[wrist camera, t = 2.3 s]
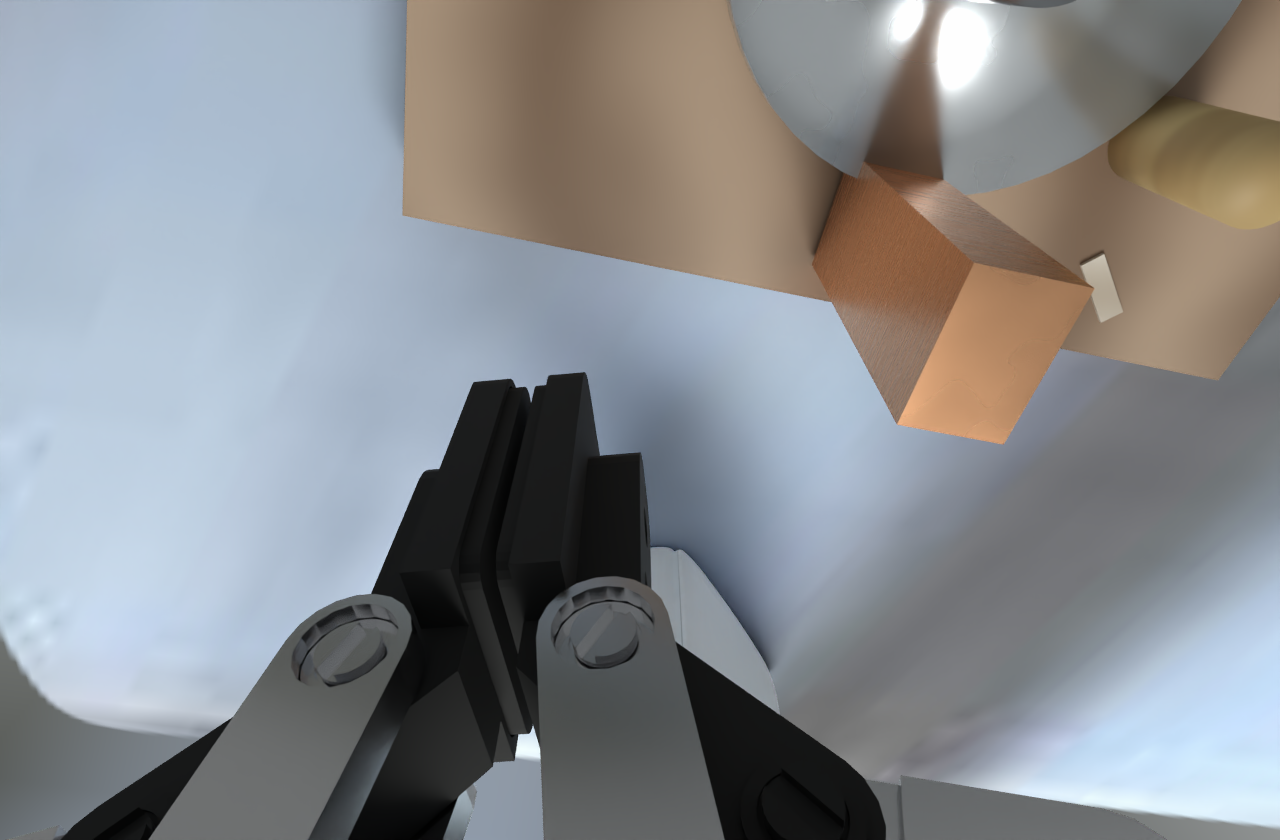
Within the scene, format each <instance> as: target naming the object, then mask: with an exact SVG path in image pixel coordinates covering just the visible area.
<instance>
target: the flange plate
mask: <svg viewBox="0 0 1280 840" xmlns="http://www.w3.org/2000/svg"><path fill="white" fill-rule="evenodd" d="M726 1H727V7H728V13H729V16H730V20H731V23H732V26H733V30H734V33H735V37H736V40H737V43H738V47H739V49H740V51H741V53H742V56H743V58H744V60H745V62H746V65H747V67H748V69H749V72H750V74H751V76H752V78H753V79H754V81H755V83H756V84H757V86H758V88H759V89H760V91H761V92H762V94H763V96H764V97H765V99H766V101H767V102H768V104H769V105H770V106H771V107H772V108H773V110H774V111H775V112H776V113H777V114H778V116H779V117H780V118H781V119H782V121H783V122H784V123H785V124H786V125H787V127H788V128H789V129H790V130H791V131H792V132H793V134H794V135H795V136H796V137H797V138H799V139H800V140H801V141H802V142H803V143H804V144H805V145H806V146H807V147H809V148H810V149H811V150H812V151H813V152H814V153H815V154H816V155H817V156H819V157H821V158H822V159H824V160H825V161H827V162H828V163H830V164H831V165H833V166H834V167H836V168H837V169H839V170H840V171H842V172H844V173H843V176H842V179H841V182H840V184H839V187H838V190H837V193H836V196H835V199H834V202H833V205H832V207H831V210H830V213H829V216H828V219H827V222H826V225H825V228H824V230H823V233H822V236H821V239H820V242H819V245H818V248H817V251H816V253H815V256H814V259H813V262H812V266H813V268H814V270H815V272H816V273H817V275H818V277H819V279H820V281H821V283H822V285H823V287H824V288H825V290H826V292H827V294H828V296H829V298H830V300H831V302H832V303H833V305H834V307H835V309H836V311H837V313H838V315H839V317H840V318H841V320H842V322H843V324H844V326H845V328H846V330H847V332H848V333H849V335H850V337H851V339H852V341H853V343H854V345H855V347H856V349H857V350H858V352H859V354H860V356H861V358H862V360H863V362H864V364H865V365H866V367H867V369H868V371H869V373H870V375H871V377H872V379H873V380H874V382H875V384H876V386H877V388H878V390H879V392H880V394H881V395H882V397H883V399H884V401H885V403H886V405H887V407H888V409H889V410H890V412H891V414H892V416H893V418H894V420H895V422H896V424H897V425H902V426H908V427H913V428H918V429H924V430H929V431H934V432H940V433H945V434H950V435H956V436H961V437H966V438H972V439H977V440H982V441H988V442H993V443H999V444H1004V443H1005V441H1006V440H1007V438H1008V436H1009V434H1010V433H1011V431H1012V429H1013V428H1014V426H1015V424H1016V422H1017V421H1018V419H1019V417H1020V416H1021V414H1022V412H1023V410H1024V409H1025V407H1026V405H1027V404H1028V402H1029V400H1030V398H1031V397H1032V395H1033V393H1034V392H1035V390H1036V388H1037V387H1038V385H1039V383H1040V381H1041V380H1042V378H1043V376H1044V375H1045V373H1046V371H1047V369H1048V368H1049V366H1050V364H1051V363H1052V361H1053V359H1054V357H1055V356H1056V354H1057V352H1058V351H1059V349H1060V347H1061V345H1062V344H1063V342H1064V340H1065V339H1066V337H1067V335H1068V334H1069V332H1070V330H1071V328H1072V327H1073V325H1074V323H1075V322H1076V320H1077V318H1078V316H1079V315H1080V313H1081V311H1082V310H1083V308H1084V306H1085V304H1086V303H1087V301H1088V299H1089V298H1090V296H1091V294H1092V292H1093V291H1094V289H1095V288H1094V287H1092V286H1091V285H1089V284H1088V283H1087V282H1085V281H1084V280H1082V279H1081V278H1080V277H1078V276H1077V275H1076V274H1074V273H1073V272H1071V271H1070V270H1069V269H1067V268H1066V267H1064V266H1063V265H1062V264H1060V263H1059V262H1058V261H1056V260H1055V259H1053V258H1052V257H1051V256H1049V255H1048V254H1046V253H1045V252H1044V251H1042V250H1041V249H1039V248H1038V247H1037V246H1035V245H1034V244H1033V243H1031V242H1030V241H1028V240H1027V239H1026V238H1024V237H1023V236H1021V235H1020V234H1019V233H1017V232H1016V231H1015V230H1013V229H1012V228H1010V227H1009V226H1008V225H1006V224H1005V223H1003V222H1002V221H1001V220H999V219H998V218H996V217H995V216H994V215H992V214H991V213H990V212H988V211H987V210H985V209H984V208H983V207H981V206H980V205H978V204H977V203H976V202H974V201H973V200H972V199H970V198H969V197H967V196H966V195H970V194H978V193H986V192H990V191H994V190H998V189H1003V188H1007V187H1011V186H1015V185H1018V184H1021V183H1024V182H1027V181H1029V180H1032V179H1035V178H1037V177H1040V176H1043V175H1046V174H1048V173H1051V172H1053V171H1055V170H1057V169H1059V168H1061V167H1063V166H1065V165H1067V164H1069V163H1071V162H1073V161H1075V160H1077V159H1079V158H1081V157H1083V156H1084V155H1086V154H1087V153H1089V152H1091V151H1092V150H1094V149H1095V148H1097V147H1099V146H1100V145H1102V144H1104V143H1105V142H1107V141H1108V140H1110V139H1112V138H1113V137H1114V136H1116V135H1117V134H1118V133H1120V132H1121V131H1122V130H1124V129H1125V128H1126V127H1127V126H1129V125H1130V124H1131V123H1133V122H1134V121H1135V120H1137V119H1138V118H1139V117H1141V116H1142V115H1143V114H1144V113H1145V112H1147V111H1148V110H1149V109H1150V108H1151V107H1152V106H1153V105H1154V104H1155V103H1156V102H1157V101H1159V100H1160V99H1161V98H1162V97H1163V96H1164V95H1165V94H1166V93H1167V92H1168V91H1169V90H1170V89H1172V88H1173V87H1174V86H1175V85H1176V84H1177V82H1178V81H1179V80H1180V79H1181V78H1182V77H1183V76H1184V75H1185V74H1186V73H1187V71H1188V70H1189V69H1190V68H1191V67H1192V66H1193V65H1194V64H1195V63H1196V62H1197V60H1198V59H1199V58H1200V57H1201V56H1202V55H1203V54H1204V52H1205V51H1206V50H1207V48H1208V47H1209V46H1210V45H1211V43H1212V42H1213V41H1214V39H1215V38H1216V37H1217V35H1218V34H1219V33H1220V31H1221V30H1222V29H1223V27H1224V26H1225V25H1226V23H1227V22H1228V21H1229V20H1230V18H1231V17H1232V15H1233V13H1234V12H1235V10H1236V9H1237V7H1238V5H1239V4H1240V2H1241V1H1242V0H726Z"/></svg>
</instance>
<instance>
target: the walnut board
mask: <svg viewBox="0 0 1280 840" xmlns="http://www.w3.org/2000/svg"><path fill="white" fill-rule="evenodd" d="M843 173H844V172H842V171H840V170H839V169H837V168H836V167H834V166H833V165H831V164H830V163H828V162H827V161H825V160H824V159H822V158H821V157H819V156H817V155H816V154H815V153H814V152H813V151H812V150H811V149H810V148H809V147H807V146H806V145H805V144H804V143H803V142H802V141H801V140H800V139H799V138H797V137H796V136H795V135H794V134H793V132H792V131H791V130H790V129H789V128H788V127H787V125H786V124H785V123H784V122H783V121H782V119H781V118H780V117H779V116H778V114H777V113H776V112H775V111H774V110H773V108H772V107H771V106H770V105H769V104H768V102H767V101H766V99H765V97H764V96H763V94H762V92H761V91H760V89H759V88H758V86H757V84H756V83H755V81H754V79H753V78H752V76H751V74H750V72H749V69H748V67H747V65H746V62H745V60H744V58H743V56H742V53H741V51H740V49H739V47H738V43H737V40H736V37H735V33H734V30H733V26H732V23H731V20H730V16H729V13H728V7H727V1H726V0H407V32H406V79H405V126H404V172H403V216H408V217H413V218H418V219H423V220H428V221H433V222H438V223H443V224H448V225H453V226H458V227H463V228H467V229H472V230H477V231H482V232H487V233H492V234H497V235H502V236H507V237H512V238H517V239H522V240H527V241H532V242H537V243H542V244H547V245H552V246H556V247H561V248H566V249H571V250H576V251H581V252H586V253H591V254H596V255H601V256H606V257H611V258H616V259H621V260H626V261H631V262H636V263H641V264H645V265H650V266H655V267H660V268H665V269H670V270H675V271H680V272H685V273H690V274H695V275H700V276H705V277H710V278H715V279H720V280H725V281H730V282H734V283H739V284H744V285H749V286H754V287H759V288H764V289H769V290H774V291H779V292H784V293H789V294H794V295H799V296H804V297H809V298H814V299H819V300H823V301H828V302H831V300H830V298H829V296H828V294H827V292H826V290H825V288H824V287H823V285H822V283H821V281H820V279H819V277H818V275H817V273H816V272H815V270H814V268H813V266H812V262H813V259H814V256H815V253H816V251H817V248H818V245H819V242H820V239H821V236H822V233H823V230H824V228H825V225H826V222H827V219H828V216H829V213H830V210H831V207H832V205H833V202H834V199H835V196H836V193H837V190H838V187H839V184H840V182H841V179H842V176H843ZM966 196H967V197H969V198H970V199H972V200H973V201H974V202H976V203H977V204H978V205H980V206H981V207H983V208H984V209H985V210H987V211H988V212H990V213H991V214H992V215H994V216H995V217H996V218H998V219H999V220H1001V221H1002V222H1003V223H1005V224H1006V225H1008V226H1009V227H1010V228H1012V229H1013V230H1015V231H1016V232H1017V233H1019V234H1020V235H1021V236H1023V237H1024V238H1026V239H1027V240H1028V241H1030V242H1031V243H1033V244H1034V245H1035V246H1037V247H1038V248H1039V249H1041V250H1042V251H1044V252H1045V253H1046V254H1048V255H1049V256H1051V257H1052V258H1053V259H1055V260H1056V261H1058V262H1059V263H1060V264H1062V265H1063V266H1064V267H1066V268H1067V269H1069V270H1070V271H1071V272H1073V273H1074V274H1076V275H1077V276H1078V277H1080V278H1081V279H1082V280H1084V281H1085V282H1087V283H1088V284H1089V285H1091V286H1092V287H1094V288H1095V289H1094V291H1093V292H1092V294H1091V296H1090V298H1089V299H1088V301H1087V303H1086V304H1085V306H1084V308H1083V310H1082V311H1081V313H1080V315H1079V316H1078V318H1077V320H1076V322H1075V323H1074V325H1073V327H1072V328H1071V330H1070V332H1069V334H1068V335H1067V337H1066V339H1065V340H1064V342H1063V344H1062V345H1061V347H1060V348H1061V349H1066V350H1071V351H1076V352H1081V353H1086V354H1091V355H1095V356H1100V357H1105V358H1110V359H1115V360H1120V361H1125V362H1130V363H1135V364H1140V365H1145V366H1150V367H1155V368H1160V369H1165V370H1170V371H1175V372H1180V373H1184V374H1189V375H1194V376H1199V377H1204V378H1209V379H1214V380H1218V379H1219V378H1220V377H1221V375H1222V374H1223V373H1224V371H1225V370H1226V369H1227V367H1228V366H1229V364H1230V363H1231V362H1232V360H1233V359H1234V358H1235V356H1236V355H1237V354H1238V352H1239V351H1240V350H1241V348H1242V347H1243V346H1244V344H1245V343H1246V341H1247V340H1248V339H1249V337H1250V336H1251V335H1252V333H1253V332H1254V331H1255V329H1256V328H1257V327H1258V325H1259V324H1260V323H1261V321H1262V320H1263V319H1264V317H1265V316H1266V314H1267V313H1268V312H1269V310H1270V309H1271V308H1272V306H1273V305H1274V304H1275V302H1276V301H1277V300H1278V298H1279V297H1280V0H1242V1H1241V2H1240V4H1239V5H1238V7H1237V9H1236V10H1235V12H1234V13H1233V15H1232V17H1231V18H1230V20H1229V21H1228V22H1227V23H1226V25H1225V26H1224V27H1223V29H1222V30H1221V31H1220V33H1219V34H1218V35H1217V37H1216V38H1215V39H1214V41H1213V42H1212V43H1211V45H1210V46H1209V47H1208V48H1207V50H1206V51H1205V52H1204V54H1203V55H1202V56H1201V57H1200V58H1199V59H1198V60H1197V62H1196V63H1195V64H1194V65H1193V66H1192V67H1191V68H1190V69H1189V70H1188V71H1187V73H1186V74H1185V75H1184V76H1183V77H1182V78H1181V79H1180V80H1179V81H1178V82H1177V84H1176V85H1175V86H1174V87H1173V88H1172V89H1170V90H1169V91H1168V92H1167V93H1166V94H1165V95H1164V96H1163V97H1162V98H1161V99H1160V100H1159V101H1157V102H1156V103H1155V104H1154V105H1153V106H1152V107H1151V108H1150V109H1149V110H1148V111H1147V112H1145V113H1144V114H1143V115H1142V116H1141V117H1139V118H1138V119H1137V120H1135V121H1134V122H1133V123H1131V124H1130V125H1129V126H1127V127H1126V128H1125V129H1124V130H1122V131H1121V132H1120V133H1118V134H1117V135H1116V136H1114V137H1113V138H1112V139H1110V140H1108V141H1107V142H1105V143H1104V144H1102V145H1100V146H1099V147H1097V148H1095V149H1094V150H1092V151H1091V152H1089V153H1087V154H1086V155H1084V156H1083V157H1081V158H1079V159H1077V160H1075V161H1073V162H1071V163H1069V164H1067V165H1065V166H1063V167H1061V168H1059V169H1057V170H1055V171H1053V172H1051V173H1048V174H1046V175H1043V176H1040V177H1037V178H1035V179H1032V180H1029V181H1027V182H1024V183H1021V184H1018V185H1015V186H1011V187H1007V188H1003V189H998V190H994V191H990V192H986V193H978V194H970V195H966Z"/></svg>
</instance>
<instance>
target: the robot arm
mask: <svg viewBox="0 0 1280 840" xmlns="http://www.w3.org/2000/svg"><path fill="white" fill-rule="evenodd" d="M532 726H534V729H535V733H536V736H537V739H538V743H539V746H540V754H541V778H542V779H541V780H542V803H543V804H542V806H543V830H544V840H1167V839H1166V838H1164V837H1163V836H1161V835H1160V834H1158V833H1156V832H1155V831H1153V830H1152V829H1150V828H1149V827H1147V826H1145V825H1144V824H1142V823H1140V822H1139V821H1137V820H1136V819H1134V818H1131V817H1128V816H1125V815H1122V814H1118V813H1115V812H1112V811H1109V810H1106V809H1102V808H1096V807H1090V806H1084V805H1078V804H1072V803H1066V802H1060V801H1053V800H1047V799H1041V798H1035V797H1029V796H1023V795H1017V794H1011V793H1005V792H999V791H993V790H987V789H981V788H975V787H968V786H962V785H956V784H950V783H944V782H938V781H932V780H926V779H920V778H914V777H908V776H902V775H900V781H899V785H896V784H890V783H884V782H878V781H872V780H866V779H864V778H863V777H862V776H861V775H860V774H859V773H858V772H857V771H856V770H855V769H853V768H852V767H851V766H850V765H849V764H848V763H847V762H846V761H845V760H843V759H842V758H840V757H839V756H838V755H836V754H835V753H833V752H832V751H830V750H829V749H828V748H826V747H825V746H823V745H822V744H820V743H819V742H818V741H816V740H815V739H813V738H812V737H811V736H809V735H808V734H806V733H805V732H803V731H802V730H801V729H799V728H798V727H796V726H795V725H794V724H792V723H791V722H789V721H788V720H786V719H785V718H784V717H782V716H781V715H779V714H778V713H776V712H775V711H774V710H772V709H771V708H769V707H768V706H767V705H765V704H764V703H762V702H761V701H759V700H758V699H757V698H755V697H754V696H752V695H751V694H750V693H748V692H747V691H745V690H744V689H742V688H741V687H740V686H738V685H737V684H735V683H734V682H732V681H731V680H730V679H728V678H727V677H725V676H724V675H723V674H721V673H720V672H718V671H717V670H715V669H714V668H713V667H711V666H710V665H708V664H707V663H706V662H704V661H703V660H701V659H700V658H698V657H697V656H696V655H694V654H693V653H691V652H690V651H688V650H687V649H686V648H684V647H683V646H681V645H680V644H679V643H677V642H676V641H675V638H674V634H673V630H672V626H671V622H670V618H669V614H668V611H667V609H666V607H665V605H664V603H663V601H662V599H661V597H659V596H658V595H657V594H656V593H655V592H654V591H653V590H652V588H651V550H650V530H649V516H648V505H647V495H646V486H645V478H644V469H643V461H642V456H641V453H628V454H616V455H604V456H600V454H599V447H598V441H597V435H596V428H595V422H594V415H593V409H592V403H591V396H590V390H589V384H588V379H587V375H586V373H585V372H583V373H571V374H560V375H550V376H548V379H547V384H546V385H542V386H536V387H535V390H534V394H533V398H532V402H531V401H530V396H529V393H528V390H527V388H526V387H519V388H516V387H515V384H514V382H513V380H512V379H503V380H491V381H480V382H474V383H473V385H472V387H471V389H470V392H469V394H468V397H467V400H466V402H465V405H464V407H463V410H462V412H461V415H460V418H459V420H458V423H457V425H456V428H455V430H454V433H453V436H452V438H451V441H450V443H449V446H448V448H447V451H446V454H445V456H444V459H443V461H442V464H441V466H440V469H433V470H427V471H425V472H423V474H422V476H421V477H420V479H419V481H418V483H417V486H416V488H415V491H414V493H413V495H412V498H411V500H410V502H409V505H408V507H407V510H406V512H405V514H404V517H403V519H402V522H401V524H400V526H399V529H398V531H397V533H396V536H395V538H394V541H393V543H392V545H391V548H390V550H389V552H388V555H387V557H386V560H385V562H384V564H383V567H382V569H381V571H380V574H379V576H378V579H377V581H376V583H375V586H374V588H373V591H372V593H371V594H367V595H356V596H353V597H349V598H346V599H343V600H339V601H336V602H334V603H332V604H330V605H328V606H326V607H324V608H322V609H320V610H318V611H317V612H315V613H314V614H313V615H312V616H310V617H309V618H308V619H306V620H305V621H304V622H302V623H301V624H300V625H299V626H298V627H297V628H296V629H295V631H294V632H293V633H292V634H291V635H290V636H289V637H288V639H287V640H286V641H285V643H284V644H283V645H282V647H281V648H280V650H279V651H278V653H277V654H276V656H275V657H274V658H273V660H272V661H271V663H270V664H269V666H268V667H267V669H266V670H265V672H264V673H263V674H262V676H261V677H260V679H259V680H258V682H257V683H256V685H255V686H254V687H253V689H252V690H251V692H250V693H249V695H248V696H247V698H246V699H245V701H244V702H243V703H242V705H241V706H240V708H239V709H238V711H237V712H236V714H235V715H234V716H233V717H232V718H231V719H229V720H228V721H226V722H225V723H223V724H222V725H220V726H219V727H217V728H216V729H214V730H213V731H211V732H210V733H208V734H207V735H205V736H204V737H202V738H201V739H199V740H198V741H196V742H195V743H193V744H192V745H190V746H189V747H187V748H186V749H184V750H183V751H181V752H180V753H178V754H177V755H175V756H174V757H172V758H171V759H169V760H168V761H166V762H165V763H163V764H162V765H160V766H158V767H157V768H155V769H154V770H152V771H151V772H149V773H148V774H146V775H145V776H143V777H142V778H141V779H139V780H137V781H136V782H134V783H133V784H131V785H130V786H129V787H127V788H125V789H124V790H122V791H121V792H119V793H118V794H116V795H115V796H113V797H112V798H110V799H109V800H107V801H106V802H104V803H103V804H101V805H100V806H98V807H97V808H96V809H94V810H93V811H92V812H91V813H89V814H88V815H87V816H86V817H84V818H83V819H82V820H80V821H79V822H78V823H76V824H75V825H74V826H73V827H72V828H71V829H70V830H69V831H68V832H66V831H65V830H64V829H63V828H62V827H61V826H60V825H58V826H55V827H51V828H47V829H44V830H40V831H36V832H33V833H29V834H26V835H22V836H19V837H15V838H11V839H7V840H463V839H464V836H465V833H466V830H467V827H468V824H469V821H470V817H471V815H472V812H473V809H474V804H475V798H476V793H477V791H476V784H475V782H476V781H477V780H478V779H479V778H480V777H481V776H482V775H484V774H485V773H486V772H487V771H488V770H489V769H490V768H491V767H493V762H502V761H514V760H515V753H516V747H517V740H518V734H529V733H530V732H531V729H532Z"/></svg>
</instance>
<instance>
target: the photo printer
mask: <svg viewBox="0 0 1280 840" xmlns="http://www.w3.org/2000/svg"><path fill="white" fill-rule="evenodd" d="M650 550H651V588H652V590H653V591H654V592H655V593H656V594H657V595H658V596H659V597H661V599H662V601H663V603H664V605H665V607H666V609H667V611H668V614H669V618H670V622H671V626H672V630H673V634H674V638H675V641H676V642H677V643H679V644H680V645H681V646H683V647H684V648H686V649H687V650H688V651H690V652H691V653H693V654H694V655H696V656H697V657H698V658H700V659H701V660H703V661H704V662H706V663H707V664H708V665H710V666H711V667H713V668H714V669H715V670H717V671H718V672H720V673H721V674H723V675H724V676H725V677H727V678H728V679H730V680H731V681H732V682H734V683H735V684H737V685H738V686H740V687H741V688H742V689H744V690H745V691H747V692H748V693H750V694H751V695H752V696H754V697H755V698H757V699H758V700H759V701H761V702H762V703H764V704H765V705H767V706H768V707H769V708H771V709H772V710H774V711H775V712H776V713H778V714H779V715H780V711H779V705H778V700H777V695H776V691H775V687H774V683H773V681H772V678H771V675H770V672H769V670H768V668H767V666H766V664H765V662H764V660H763V658H762V657H761V655H760V653H759V652H758V650H757V649H756V647H755V646H754V644H753V642H752V641H751V639H750V638H749V636H748V634H747V633H746V631H745V630H744V628H743V627H742V625H741V624H740V622H739V621H738V619H737V618H736V617H735V615H734V614H733V612H732V611H731V609H730V608H729V606H728V605H727V604H726V602H725V601H724V600H723V598H722V597H721V596H720V594H719V593H718V591H717V590H716V589H715V587H714V586H713V585H712V583H711V582H710V581H709V579H708V578H707V577H706V575H705V574H704V573H703V571H702V570H701V569H700V568H699V566H698V565H697V564H696V563H695V562H694V561H693V560H692V559H691V558H690V557H689V556H688V555H687V554H686V553H685V552H684V551H683V550H677V551H674V550H672V549H671V548H668V547H652V548H650Z"/></svg>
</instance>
